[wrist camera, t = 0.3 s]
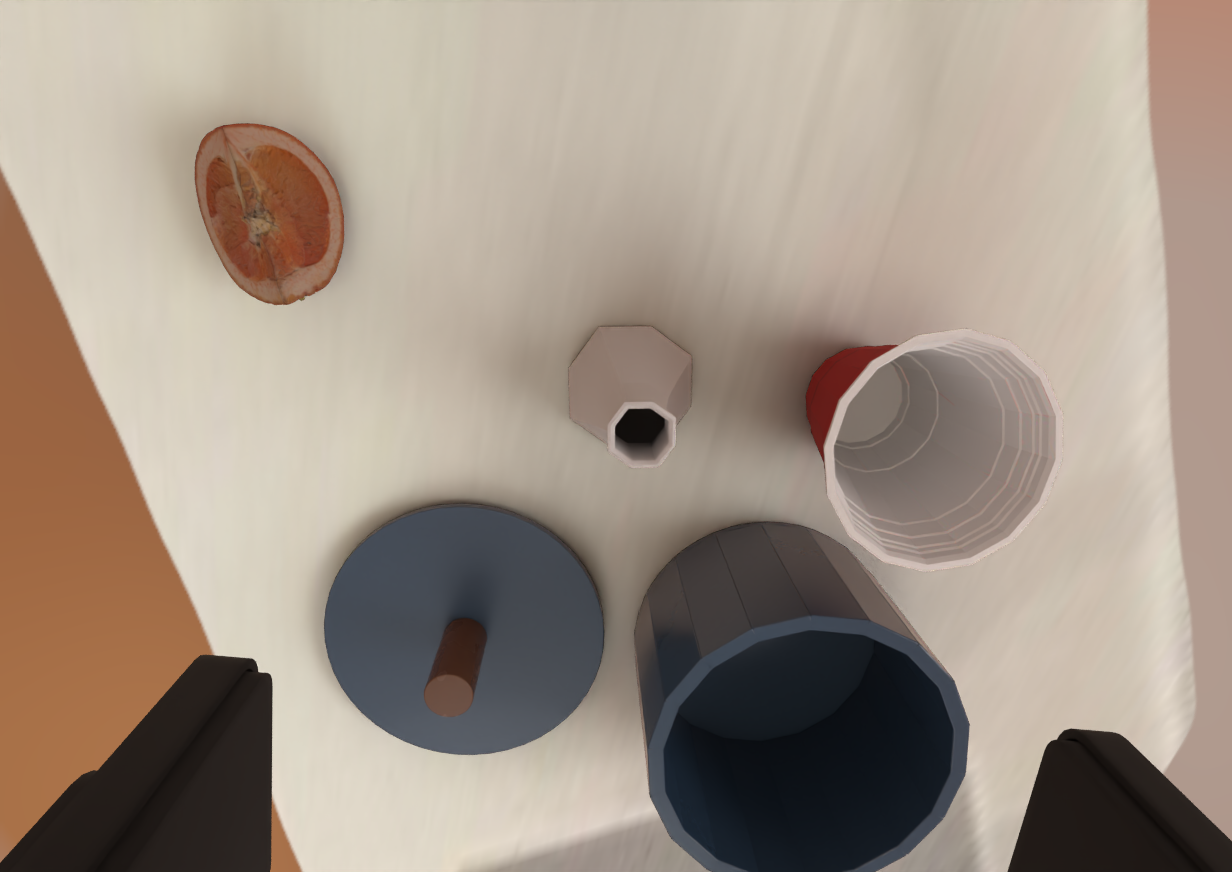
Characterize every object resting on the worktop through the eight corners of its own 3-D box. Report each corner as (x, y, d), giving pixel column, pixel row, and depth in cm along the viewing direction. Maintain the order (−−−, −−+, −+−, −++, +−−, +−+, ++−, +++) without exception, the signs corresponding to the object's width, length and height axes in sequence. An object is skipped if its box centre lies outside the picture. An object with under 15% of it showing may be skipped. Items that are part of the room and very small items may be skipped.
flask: (669, 463, 46) (691, 530, 37) (549, 427, 45) (540, 486, 36) (711, 344, 44) (746, 383, 35) (587, 305, 44) (588, 333, 34)
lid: (333, 485, 46) (288, 535, 39) (619, 514, 47) (624, 566, 40) (327, 732, 50) (285, 815, 44) (588, 752, 52) (588, 837, 45)
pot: (650, 509, 47) (669, 601, 36) (909, 534, 48) (1006, 632, 37) (618, 734, 51) (627, 880, 40) (858, 754, 52) (930, 900, 41)
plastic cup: (988, 403, 46) (1122, 468, 34) (837, 519, 48) (918, 618, 36) (879, 257, 43) (986, 275, 32) (725, 384, 45) (772, 445, 34)
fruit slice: (372, 282, 43) (345, 292, 38) (252, 309, 43) (210, 322, 38) (323, 119, 41) (288, 107, 36) (196, 148, 41) (144, 141, 36)
